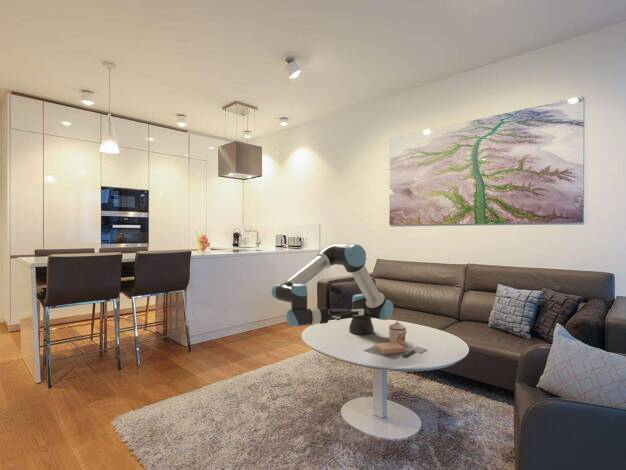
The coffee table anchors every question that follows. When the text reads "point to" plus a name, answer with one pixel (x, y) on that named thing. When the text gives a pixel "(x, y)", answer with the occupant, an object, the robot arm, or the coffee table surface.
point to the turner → (416, 349)
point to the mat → (391, 356)
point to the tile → (389, 348)
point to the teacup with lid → (397, 333)
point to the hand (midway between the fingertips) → (363, 311)
